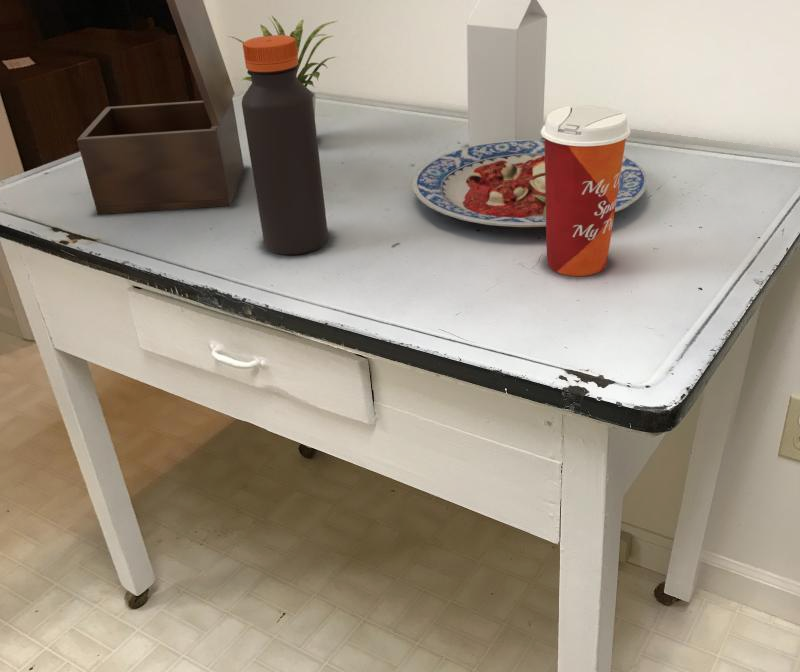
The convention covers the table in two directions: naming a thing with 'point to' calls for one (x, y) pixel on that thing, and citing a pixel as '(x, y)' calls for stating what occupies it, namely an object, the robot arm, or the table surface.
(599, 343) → the table surface
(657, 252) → the table surface
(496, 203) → the ceramic plate
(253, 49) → the bottle
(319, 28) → the house plant
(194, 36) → the lid
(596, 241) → the paper cup
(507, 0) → the milk carton
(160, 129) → the chest
